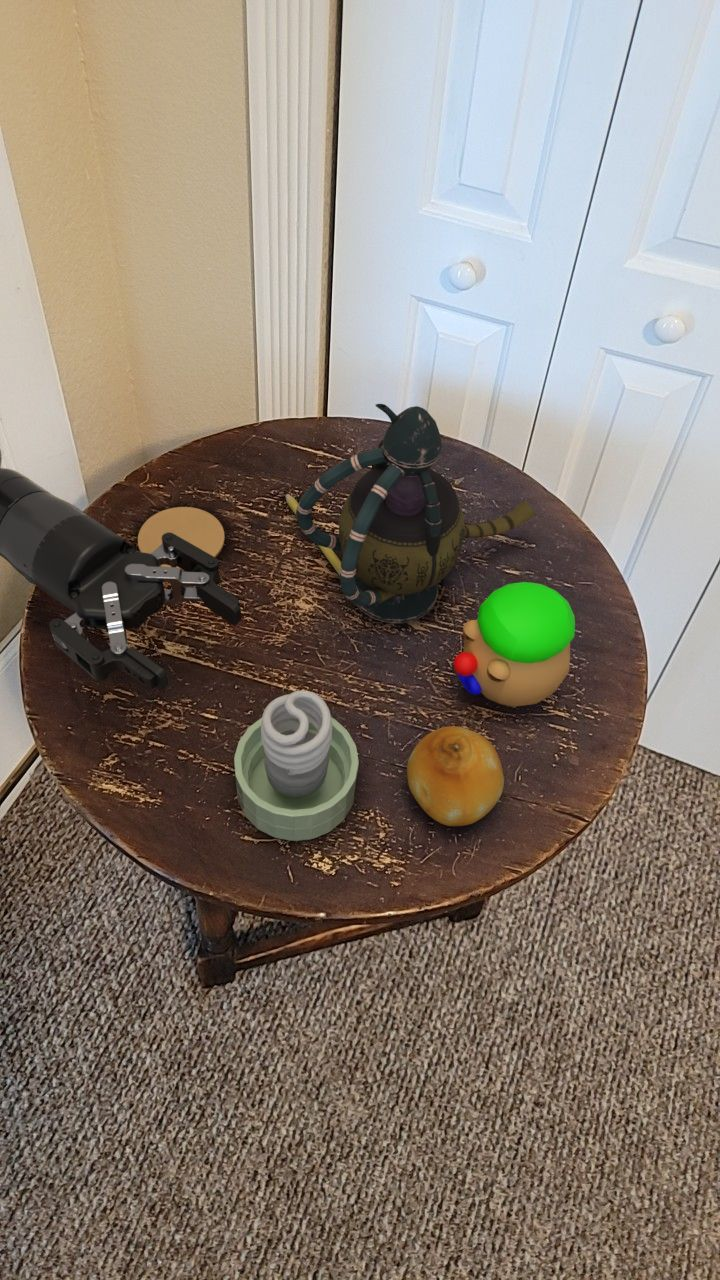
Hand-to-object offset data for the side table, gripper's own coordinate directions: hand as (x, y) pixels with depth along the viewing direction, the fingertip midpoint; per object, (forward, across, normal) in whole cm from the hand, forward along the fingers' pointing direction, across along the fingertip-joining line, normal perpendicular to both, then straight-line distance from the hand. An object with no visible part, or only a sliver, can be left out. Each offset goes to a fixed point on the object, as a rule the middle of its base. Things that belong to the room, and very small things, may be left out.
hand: (202, 648), depth 75 cm
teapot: (+4, +27, +12) cm, 30 cm away
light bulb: (+10, 0, +11) cm, 15 cm away
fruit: (+21, +8, +12) cm, 25 cm away
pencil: (-8, +24, +12) cm, 28 cm away
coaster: (-18, +15, +12) cm, 26 cm away
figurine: (+18, +20, +12) cm, 30 cm away
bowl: (+10, 0, +12) cm, 15 cm away
